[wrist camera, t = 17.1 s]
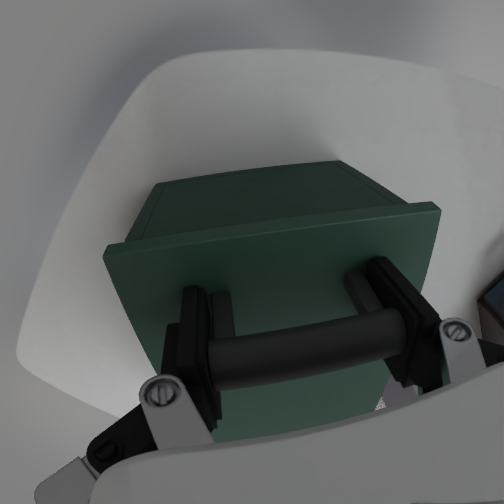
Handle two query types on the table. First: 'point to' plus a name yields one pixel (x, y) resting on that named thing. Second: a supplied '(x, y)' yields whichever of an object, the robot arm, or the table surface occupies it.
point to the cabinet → (490, 322)
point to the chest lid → (282, 309)
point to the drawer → (496, 299)
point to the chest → (256, 197)
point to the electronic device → (397, 392)
